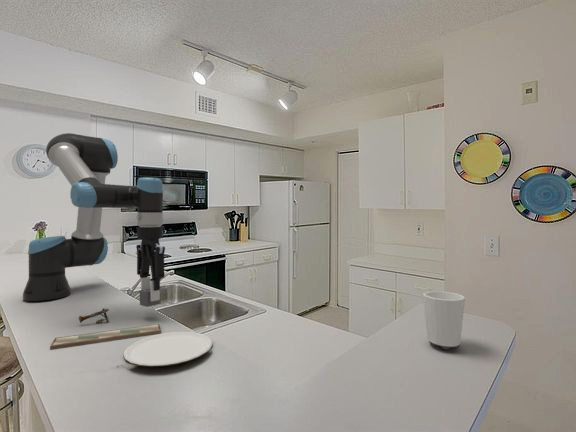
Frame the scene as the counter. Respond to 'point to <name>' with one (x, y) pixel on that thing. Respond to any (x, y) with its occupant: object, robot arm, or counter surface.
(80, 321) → the lantern lamp post
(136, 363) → the plate
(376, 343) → the counter surface
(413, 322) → the counter surface
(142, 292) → the die
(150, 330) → the board
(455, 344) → the cup
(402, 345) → the counter surface
